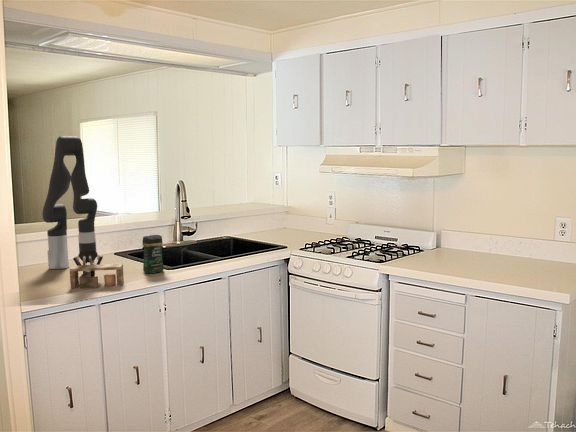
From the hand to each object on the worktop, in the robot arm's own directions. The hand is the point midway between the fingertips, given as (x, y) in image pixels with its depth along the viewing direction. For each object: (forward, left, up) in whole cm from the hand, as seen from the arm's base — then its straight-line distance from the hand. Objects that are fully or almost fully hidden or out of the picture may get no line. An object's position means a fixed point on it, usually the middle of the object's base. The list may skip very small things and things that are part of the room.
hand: (89, 277), depth 258 cm
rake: (+2, -4, -2) cm, 5 cm away
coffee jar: (+28, +12, -2) cm, 31 cm away
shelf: (+5, -9, -2) cm, 11 cm away
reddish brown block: (+11, -9, -2) cm, 14 cm away
